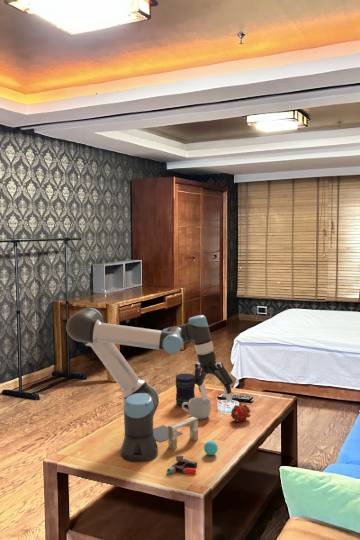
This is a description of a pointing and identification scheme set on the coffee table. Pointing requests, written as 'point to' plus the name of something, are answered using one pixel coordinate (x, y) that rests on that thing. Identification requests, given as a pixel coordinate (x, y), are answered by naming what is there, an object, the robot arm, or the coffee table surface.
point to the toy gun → (183, 466)
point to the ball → (210, 448)
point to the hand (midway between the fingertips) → (217, 400)
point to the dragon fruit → (240, 412)
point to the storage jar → (184, 389)
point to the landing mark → (162, 433)
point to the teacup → (198, 407)
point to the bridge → (173, 428)
